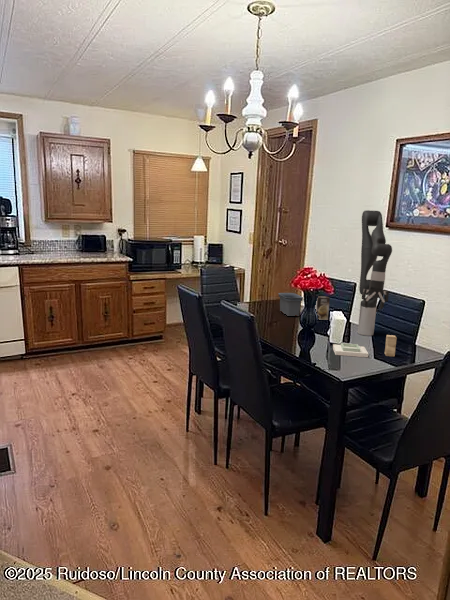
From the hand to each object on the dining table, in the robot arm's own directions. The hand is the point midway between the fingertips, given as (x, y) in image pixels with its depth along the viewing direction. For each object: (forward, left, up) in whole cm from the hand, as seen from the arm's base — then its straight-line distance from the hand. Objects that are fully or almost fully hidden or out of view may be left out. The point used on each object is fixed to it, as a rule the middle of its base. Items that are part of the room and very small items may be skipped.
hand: (373, 308), depth 237 cm
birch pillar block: (+24, +5, -19) cm, 31 cm away
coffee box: (-46, -25, -20) cm, 56 cm away
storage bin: (-56, -45, -20) cm, 74 cm away
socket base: (+25, -15, -19) cm, 35 cm away
